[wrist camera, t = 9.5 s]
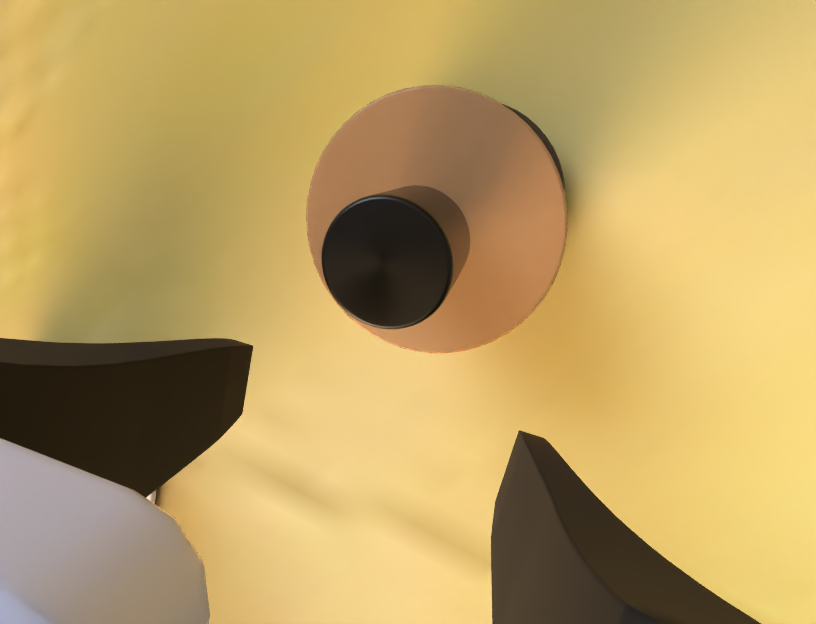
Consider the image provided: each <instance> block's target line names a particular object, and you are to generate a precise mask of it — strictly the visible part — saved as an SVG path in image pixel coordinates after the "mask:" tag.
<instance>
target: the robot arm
mask: <svg viewBox="0 0 816 624" xmlns="http://www.w3.org/2000/svg"><path fill="white" fill-rule="evenodd" d="M252 350H253V346H252V345H249V344H245V343H242V342H239V341H236V340H232V339H218V338H213V339H189V340H173V341H157V342H134V343H102V344H100V343H57V342H42V341H29V340H17V339H5V338H0V624H209V618H210V612H209V603H208V595H207V587H206V579H205V571H204V565H203V561H202V559H201V557H200V556H199V554H198V552H197V551H196V549H195V548H194V546H193V545H192V543H191V542H190V540H189V539H188V537H187V535H186V534H185V532H184V531H183V529H182V528H181V526H180V525H179V523H178V522H177V520H176V518H175V517H173V516H172V515H170V514H169V513H167V512H166V511H164V510H163V509H161V508H160V507H158V506H157V505H155V498H156V490H157V489H158V488H159V487H160V486H162V485H163V484H164V483H165V482H167V481H168V480H169V479H170V478H172V477H173V476H174V475H175V474H177V473H178V472H179V471H181V470H182V469H183V468H184V467H186V466H187V465H188V464H189V463H191V462H192V461H193V460H194V459H196V458H197V457H198V456H199V455H201V454H202V453H203V452H204V451H206V450H207V449H208V448H209V447H211V446H212V445H213V444H214V443H215V442H216V441H218V440H219V439H220V438H221V437H222V436H223V435H224V434H225V433H226V431H227V430H228V429H229V428H230V427H231V426H232V425H233V424H234V423H235V422H236V421H237V419H238V418H239V417H240V416H241V415H242V412H243V406H244V400H245V393H246V387H247V381H248V375H249V369H250V363H251V356H252ZM491 571H492V619H493V624H761V623H759V622H758V621H756V620H754V619H753V618H751V617H750V616H748V615H747V614H745V613H743V612H742V611H740V610H739V609H737V608H735V607H734V606H732V605H731V604H729V603H728V602H726V601H724V600H723V599H721V598H720V597H719V596H717V595H716V594H714V593H713V592H711V591H710V590H708V589H707V588H705V587H704V586H702V585H701V584H699V583H698V582H697V581H695V580H694V579H692V578H691V577H690V576H688V575H687V574H686V573H684V572H683V571H682V570H680V569H679V568H678V567H676V566H675V565H673V564H672V563H671V562H669V561H668V560H667V559H665V558H664V557H663V556H662V555H660V554H659V553H658V552H657V551H655V550H654V549H653V548H652V547H650V546H649V545H648V544H647V543H646V542H644V541H643V540H642V539H641V538H640V537H639V536H638V535H636V534H635V533H634V532H633V531H632V530H631V529H629V528H628V527H627V526H626V525H625V524H624V523H623V522H622V521H621V520H619V519H618V518H617V517H616V516H615V515H614V514H613V513H612V512H611V511H610V510H609V509H608V508H607V507H606V506H605V505H604V504H603V503H602V502H601V501H600V500H599V499H598V498H597V497H596V496H595V495H594V494H593V492H592V491H591V490H590V489H589V488H588V487H587V486H586V485H585V484H584V483H583V481H582V480H581V479H580V478H579V477H578V476H577V475H576V474H575V472H574V471H573V470H572V469H571V468H570V467H569V465H568V464H567V463H566V462H565V461H564V459H563V458H562V457H561V456H560V455H559V454H558V452H557V451H556V450H555V449H554V448H553V447H552V445H551V444H550V443H549V442H548V441H547V440H546V439H544V438H542V437H538V436H535V435H532V434H529V433H526V432H523V431H520V430H519V432H518V435H517V438H516V441H515V444H514V447H513V450H512V453H511V456H510V459H509V462H508V465H507V468H506V471H505V474H504V477H503V480H502V483H501V486H500V489H499V492H498V495H497V498H496V501H495V509H494V517H493V525H492V535H491Z"/></svg>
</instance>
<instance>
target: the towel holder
mask: <svg viewBox="0 0 816 624" xmlns="http://www.w3.org/2000/svg"><path fill="white" fill-rule="evenodd" d="M306 221H307V235H308V240H309V246H310V251H311V254H312V257H313V261H314V264H315V266H316V269H317V271H318V273H319V276H320V278H321V280H322V282H323V283H324V285H325V287H326V289H327V290H328V292H329V294H330V295H331V296H332V298H333V299H334V300H335V302H336V303H337V304H338V306H339V307H340V308H341V309H342V310H343V311H344V312H345V313H346V314H347V315H348V316H349V317H350V318H351V319H352V320H353V321H354V322H356V323H357V324H358V325H359V326H360V327H362V328H363V329H365V330H366V331H368V332H369V333H371V334H372V335H374V336H376V337H378V338H380V339H382V340H384V341H386V342H388V343H390V344H393V345H396V346H398V347H401V348H405V349H409V350H413V351H419V352H427V353H451V352H458V351H465V350H469V349H472V348H476V347H480V346H482V345H485V344H487V343H490V342H492V341H494V340H496V339H498V338H500V337H502V336H503V335H505V334H507V333H509V332H510V331H511V330H513V329H514V328H515V327H517V326H518V325H519V324H521V323H522V322H523V321H524V320H525V319H526V318H527V317H528V316H529V315H530V314H531V313H532V312H533V311H534V310H535V309H536V307H537V306H538V305H539V304H540V302H541V301H542V300H543V299H544V297H545V295H546V294H547V292H548V290H549V289H550V287H551V285H552V284H553V282H554V279H555V277H556V275H557V272H558V270H559V268H560V265H561V261H562V258H563V254H564V250H565V245H566V237H567V206H566V198H565V185H564V177H563V172H562V169H561V165H560V162H559V159H558V157H557V155H556V152H555V150H554V148H553V146H552V145H551V143H550V142H549V140H548V138H547V137H546V136H545V134H544V133H543V132H542V131H541V130H540V128H539V127H538V126H537V125H536V124H534V123H533V122H532V121H531V120H530V119H529V118H528V117H526V116H525V115H523V114H522V113H520V112H518V111H517V110H515V109H513V108H511V107H509V106H506V105H504V104H501V103H499V102H498V101H496V100H493V99H491V98H489V97H487V96H485V95H482V94H480V93H477V92H474V91H470V90H467V89H463V88H459V87H451V86H444V85H431V86H418V87H412V88H406V89H402V90H399V91H396V92H393V93H390V94H387V95H385V96H383V97H381V98H379V99H377V100H375V101H373V102H371V103H369V104H368V105H366V106H365V107H363V108H362V109H361V110H359V111H358V112H356V113H355V114H354V115H353V116H352V117H351V118H350V119H348V120H347V121H346V122H345V123H344V124H343V125H342V126H341V128H340V129H339V130H338V131H337V132H336V134H335V135H334V136H333V137H332V138H331V140H330V142H329V143H328V145H327V146H326V148H325V150H324V151H323V153H322V155H321V157H320V159H319V161H318V164H317V166H316V168H315V171H314V174H313V177H312V181H311V184H310V189H309V194H308V200H307V214H306Z"/></svg>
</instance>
